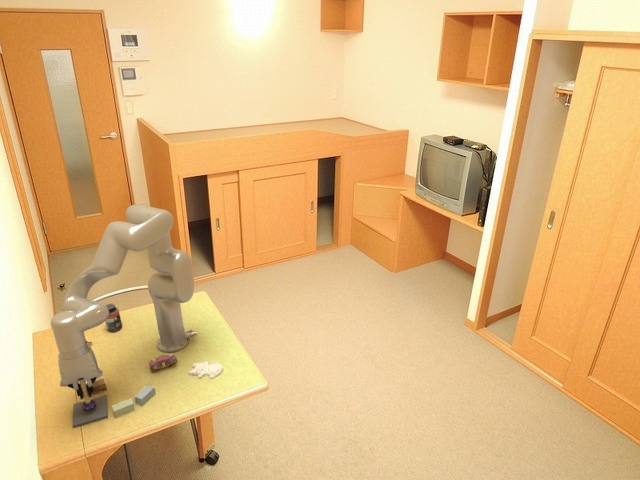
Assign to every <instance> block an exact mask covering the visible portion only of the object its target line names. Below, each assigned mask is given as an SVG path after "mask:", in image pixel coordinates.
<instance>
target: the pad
mask: <svg viewBox="0 0 640 480" xmlns="http://www.w3.org/2000/svg"><path fill="white" fill-rule="evenodd" d="M90 399H91V400H94V401H95V402H96V407H95V408H94V409H93V410H91V411H83V410H82V405H83V403H84V402H85V400H83V401H79V402H75V403H73V407H72V423H71V425H72V428H73V429H75V428H79V427H81V426H84V425H89V424H92V423H95V422H98V421H102V420H106V419H108V416H109V415H108V414H109V413H108V411H109V410H108V395H107V394H105V395H101V396H97V397H94V398H90Z"/></svg>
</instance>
